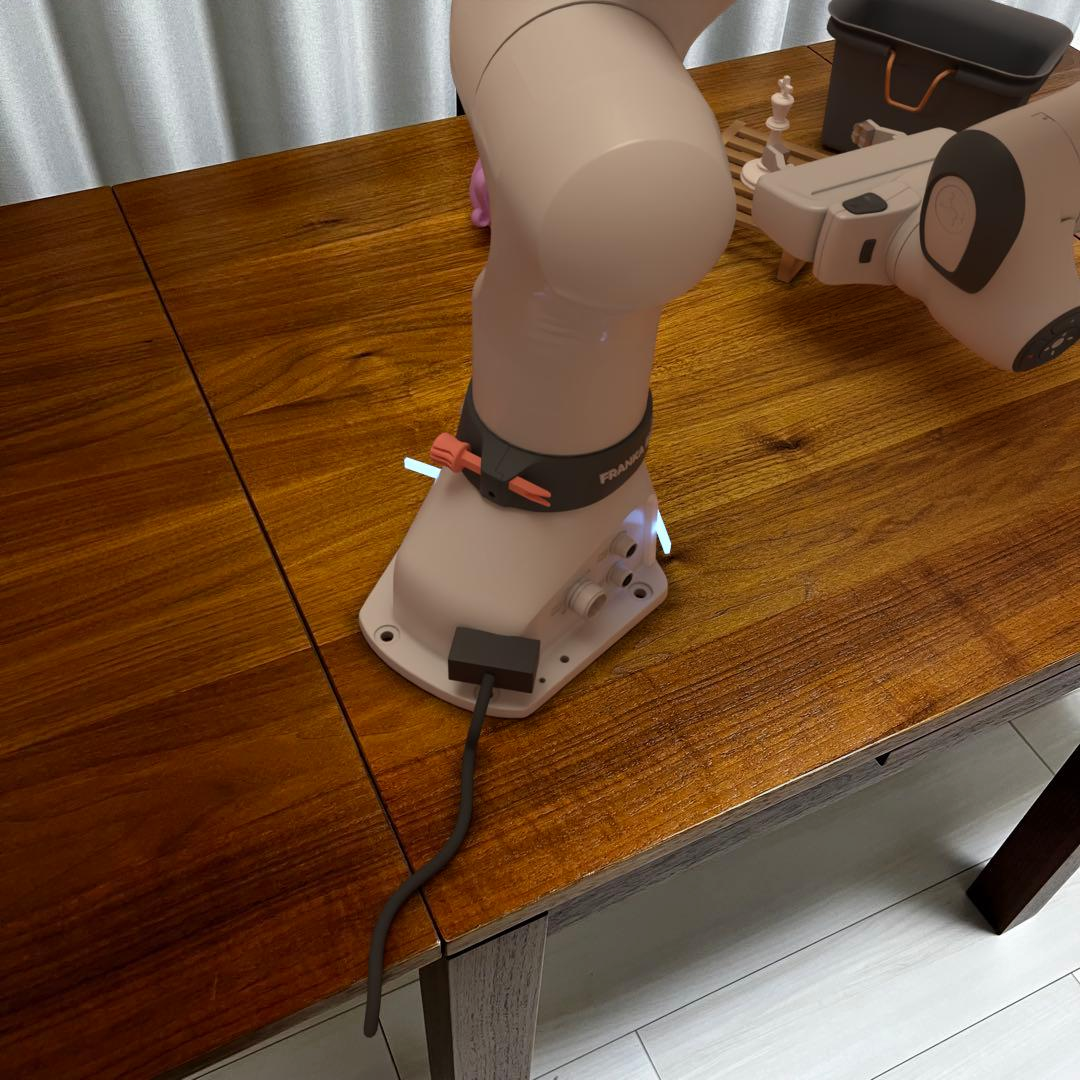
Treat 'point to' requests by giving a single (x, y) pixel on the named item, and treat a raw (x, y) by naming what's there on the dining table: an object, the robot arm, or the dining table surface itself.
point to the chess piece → (777, 125)
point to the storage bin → (933, 64)
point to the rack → (734, 149)
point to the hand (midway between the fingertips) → (814, 140)
